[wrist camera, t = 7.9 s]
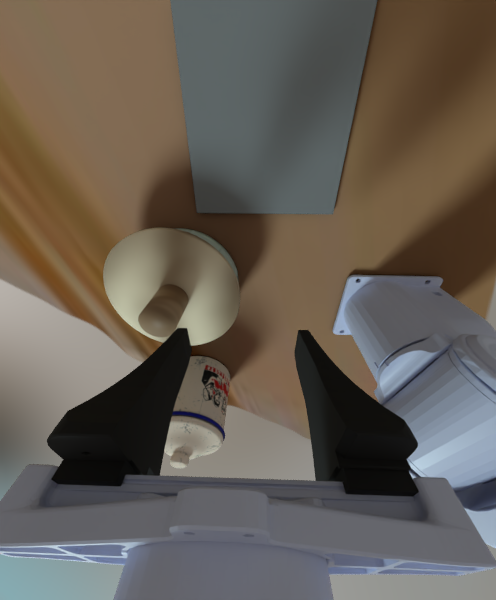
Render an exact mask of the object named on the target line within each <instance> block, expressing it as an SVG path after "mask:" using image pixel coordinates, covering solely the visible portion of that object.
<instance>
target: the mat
mask: <svg viewBox="0 0 496 600" xmlns="http://www.w3.org/2000/svg"><path fill="white" fill-rule="evenodd" d="M170 1H171V9H172V17H173V25H174V33H175V41H176V49H177V57H178V65H179V73H180V81H181V89H182V97H183V105H184V113H185V121H186V129H187V137H188V145H189V153H190V161H191V169H192V177H193V185H194V193H195V201H196V209H197V213H254V214H333V211H334V207H335V202H336V197H337V192H338V187H339V182H340V178H341V173H342V168H343V163H344V158H345V154H346V149H347V144H348V139H349V134H350V129H351V125H352V120H353V115H354V110H355V105H356V101H357V96H358V91H359V86H360V81H361V76H362V72H363V67H364V62H365V57H366V52H367V48H368V43H369V38H370V33H371V28H372V23H373V19H374V14H375V9H376V4H377V0H170Z"/></svg>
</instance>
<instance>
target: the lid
mask: <svg viewBox="0 0 496 600" xmlns="http://www.w3.org/2000/svg"><path fill="white" fill-rule="evenodd" d="M103 279H104V286H105V290H106V293H107V295H108V298H109V300H110V302H111V304H112V305H113V307H114V308H115V310H116V311H117V312H118V314H119V315H120V316H121V317H122V318H123V319H124V320H125V321H126V322H127V323H128V324H129V325H131V326H132V327H133V328H135V329H136V330H137V331H139V332H141V333H142V334H144V335H146V336H148V337H150V338H152V339H155V340H157V341H160V342H163V343H164V342H165V341H166V340H167V339H168V338H169V337H170V336H171V334H172V333H173V332H174V331H175V330H176V329H177V328H187V330H188V335H189V339H190V344H191V346H193V345H200V344H204V343H208V342H210V341H213V340H215V339H217V338H219V337H220V336H222V335H223V334H224V333H225V332H226V331H227V330H228V329H229V328H230V327H231V326H232V324H233V323H234V321H235V319H236V317H237V314H238V311H239V304H240V288H239V283H238V280H237V277H236V275H235V272H234V270H233V268H232V267H231V265H230V264H229V262H228V261H227V260H226V258H225V257H224V256H223V255H222V254H221V253H220V252H219V251H218V250H217V249H216V248H215V247H213V246H212V245H211V244H209V243H208V242H207V241H205V240H203V239H201V238H200V237H198V236H196V235H193V234H191V233H189V232H186V231H182V230H179V229H173V228H163V227H156V228H148V229H144V230H140V231H138V232H135V233H133V234H131V235H129V236H128V237H126V238H124V239H123V240H121V241H120V242H119V243H118V244H117V245H116V246H115V247H114V248H113V249H112V250H111V252H110V253H109V255H108V257H107V259H106V261H105V265H104V272H103Z"/></svg>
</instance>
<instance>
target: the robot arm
mask: <svg viewBox="0 0 496 600" xmlns="http://www.w3.org/2000/svg"><path fill="white" fill-rule="evenodd" d="M357 279H359V280H358V281H356V280H357ZM427 280H428V281H427ZM426 281H427V282H426ZM442 282H443V279H442V278H441V277H438V276H386V275H351V276H349V277H348V279H347V282H346V285H345V289H344V292H343V296H342V299H341V303H340V306H339V310H338V313H337V317H336V320H335V323H334V327H333V333H334V334H340V335H352V336H353V338H354V340H355V342H356V344H357V346H358V348H359V349H360V351H361V353H362V355H363V357H364V359H365V361H366V363H367V365H368V366H369V368H370V370H371V372H372V374H373V376H374V378H375V380H376V382H377V383H378V386H377V389H376V390H375V391H374V393H375V395H376V397H377V399H378V401H379V403H378V402H377V401H376V400H374V399H373V398H372V397H370V396H369V395H368V394H367V393H365V392H364V391H363V390H362V389H360V388H359V387H358V386H357V385H356V384H354V383H353V382H352V381H351V380H350V379H349V378H348V377H347V376H346V375H345V374H344V373H343V372H342V371H341V370H340V369H339V368H338V367H337V366H336V365H335V364H334V363H333V362H332V360H331V359H330V358H329V357H328V356H327V354H326V353H325V352H324V351H323V350H322V348H321V347H320V346H319V344H318V343H317V342H316V340H315V339H314V337H313V336H312V335H311V333H310V332H309V331H308V330H298V335H297V341H296V347H295V360H296V367H297V371H298V375H299V379H300V383H301V387H302V391H303V395H304V399H305V403H306V408H307V415H308V421H309V428H310V435H311V443H312V450H313V458H314V468H315V477H316V481H304V480H274V479H271V480H270V479H244V478H242V479H241V478H212V477H184V476H160V470H161V465H162V459H163V454H164V449H165V444H166V440H167V435H168V431H169V426H170V422H171V418H172V414H173V410H174V406H175V402H176V399H177V396H178V393H179V390H180V388H181V385H182V382H183V379H184V376H185V374H186V371H187V368H188V365H189V361H190V356H191V352H192V349H191V344H190V339H189V335H188V330H187V328H177V329H176V330H175V331H174V332H173V333H172V334H171V336H170V337H169V338H168V339H167V340H166V341H165V342H164V343H163V344H162V345H161V346H160V347H159V348H158V349H157V350H156V351H155V352H154V353H153V354H152V355H151V356H150V357H149V358H148V359H146V360H145V361H144V362H143V363H142V364H141V365H140V366H138V367H137V368H136V369H135V370H133V371H132V372H131V373H130V374H128V375H127V376H126V377H124V378H123V379H121V380H120V381H118V382H117V383H116V384H114V385H113V386H111V387H110V388H108V389H106V390H105V391H103V392H102V393H100V394H98V395H97V396H95V397H93V398H91V399H90V400H88V401H86V402H84V403H83V404H80V405H78V406H77V407H75V408H73V409H71V410H69V411H68V412H67V413H66V414H65V415H64V417H63V418H62V419H61V421H60V422H59V423H58V425H57V426H56V427H55V429H54V430H53V432H52V433H51V434H50V436H49V437H48V439H47V443H48V446H49V447H50V448H51V449H52V450H53V451H54V452H55V453H57V454H58V455H59V456H60V457H61V458H62V459H64V460H63V461H62V463H61V464H60V466H59V467H57V466H53V465H39V464H29V465H27V466H26V467H25V469H24V470H23V471H22V473H21V474H20V475H19V477H18V478H17V479H16V481H15V482H14V484H13V485H12V486H11V487H10V489H9V490H8V492H7V493H6V494H5V496H4V497H3V498H2V500H1V501H0V554H2V555H6V556H9V557H26V558H43V559H57V560H70V561H81V562H93V563H105V564H117V565H124V568H123V572H122V575H121V578H120V581H119V584H118V587H117V590H116V594H115V597H114V600H333V594H332V589H331V583H330V577H329V574H409V575H410V574H416V575H450V576H460V575H465V574H470V573H475V572H480V571H484V570H489V569H494V568H496V560H495V559H494V557H493V555H492V554H491V552H490V551H489V549H488V547H487V545H486V544H488V545H490V546H492V547H494V548H496V331H495V330H494V328H493V327H492V326H491V325H490V324H489V323H488V322H487V321H486V320H485V319H484V318H482V317H481V316H479V315H478V314H476V313H475V312H474V311H472V310H471V309H469V308H468V307H467V306H465V305H464V304H462V303H461V302H460V301H458V300H457V299H455V298H454V297H452V296H451V295H450V294H448V293H447V292H445V291H444V290H443V289H441V288H440V286H441V284H442ZM341 330H342V331H341ZM485 543H486V544H485Z"/></svg>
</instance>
